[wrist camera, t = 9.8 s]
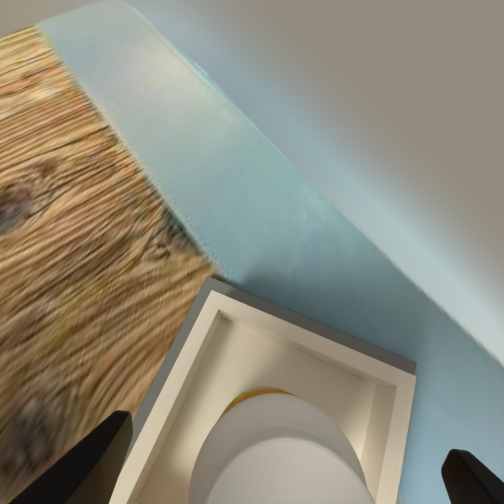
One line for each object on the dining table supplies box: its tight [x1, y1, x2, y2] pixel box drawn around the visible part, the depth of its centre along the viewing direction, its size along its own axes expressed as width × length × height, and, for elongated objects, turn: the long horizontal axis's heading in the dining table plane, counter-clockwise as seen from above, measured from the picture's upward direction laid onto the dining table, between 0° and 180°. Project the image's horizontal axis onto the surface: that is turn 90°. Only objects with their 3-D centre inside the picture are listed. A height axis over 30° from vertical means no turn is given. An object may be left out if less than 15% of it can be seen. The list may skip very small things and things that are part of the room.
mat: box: [119, 276, 416, 475], centre depth 15 cm, size 14×14×1 cm
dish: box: [109, 290, 417, 504], centre depth 14 cm, size 11×11×3 cm
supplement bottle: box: [188, 387, 375, 504], centre depth 10 cm, size 5×5×10 cm
